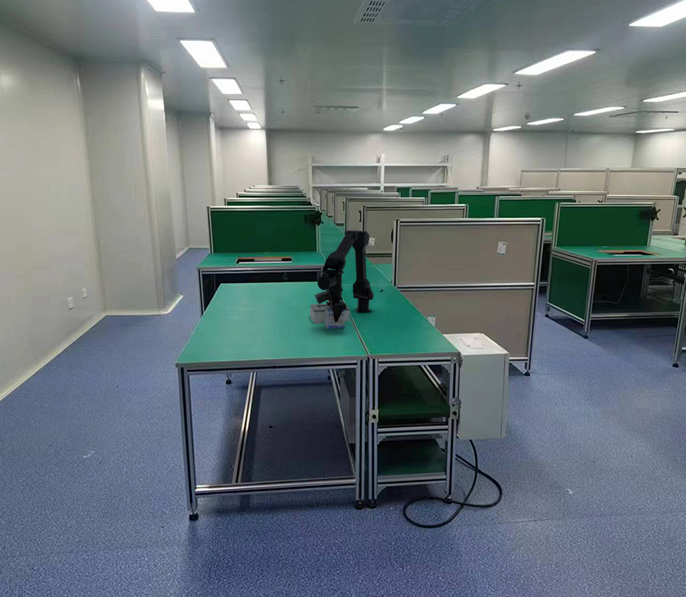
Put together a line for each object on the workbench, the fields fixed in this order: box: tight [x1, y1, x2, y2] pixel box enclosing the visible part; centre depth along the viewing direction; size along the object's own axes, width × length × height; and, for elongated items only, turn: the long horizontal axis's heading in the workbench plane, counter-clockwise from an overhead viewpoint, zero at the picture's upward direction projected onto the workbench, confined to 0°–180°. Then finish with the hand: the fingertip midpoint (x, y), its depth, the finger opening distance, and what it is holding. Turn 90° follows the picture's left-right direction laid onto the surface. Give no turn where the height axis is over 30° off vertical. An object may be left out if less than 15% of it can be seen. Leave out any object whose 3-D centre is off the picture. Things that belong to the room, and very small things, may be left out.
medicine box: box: [324, 308, 346, 330], centre depth 208 cm, size 8×4×9 cm, turn 105°
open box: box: [309, 303, 350, 324], centre depth 219 cm, size 10×16×6 cm, turn 103°
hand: (334, 320), depth 208 cm, fingers closed on medicine box, 4 cm apart
